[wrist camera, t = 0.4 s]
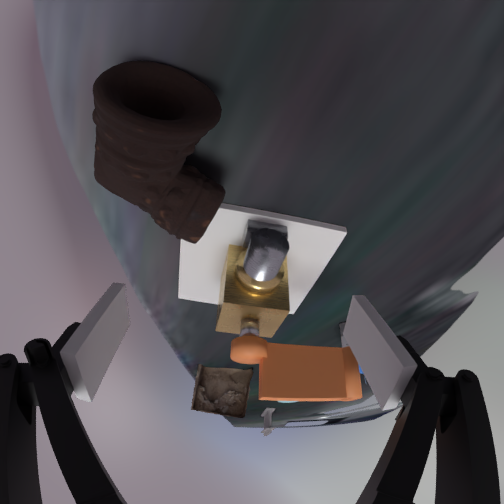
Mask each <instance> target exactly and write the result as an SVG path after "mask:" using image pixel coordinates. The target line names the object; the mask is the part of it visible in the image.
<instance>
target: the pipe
mask: <svg viewBox="0 0 504 504" xmlns="http://www.w3.org/2000/svg"><path fill="white" fill-rule="evenodd" d="M93 95H94V105H95V109H94V111H93V114H92V115H93V121H94V123H95V124H96V144H95V149H96V150H95V160H94V168H95V171H94V176H95V179H96V181H97V182H98V183H99V184H101V185H102V186H103V187H105V188H106V189H107V190H109V191H110V192H112V193H113V194H115V195H117V196H119V197H121V198H123V199H125V200H126V201H128V202H130V203H132V204H134V205H137V206H139V208H140V209H142V210H143V211H145V212H148V213H150V214H151V217H152V218H153V219H154V221H155V223H156V224H158V225H159V226H160V227H161V228H163V229H165V230H167V231H168V233H169V234H173V235H175V236H176V238H177V239H183V240H185V241H187V242H190V243H193V244H196V243H197V242H198V241H199V240H200V239H201V238H202V236H203V235H204V233H205V232H206V230H207V228H208V226H209V224H210V223H211V221H212V220H213V218H214V216H215V215H216V213H217V211H218V209H219V207H220V205H221V203H222V201H223V199H224V196H225V190H224V188H223V186H221V185H220V184H218V183H216V182H215V181H213V180H212V179H208V178H206V176H205V175H204V174H201V173H200V172H199V171H198V169H196V168H195V167H193V166H192V165H183V164H184V162H185V160H186V157H187V156H188V155H190V154H192V153H193V152H194V150H195V145H196V144H197V143H198V142H199V140H200V139H201V137H203V136H204V135H206V134H207V132H208V131H209V130H211V129H212V128H214V127H215V126H216V124H217V123H218V122H219V119H220V117H221V110H222V109H221V106H220V103H219V100H218V98H217V96H216V95H215V94H214V92H213V91H212V90H211V89H210V88H209V87H208V86H206V85H205V84H204V83H202V82H199V81H197V80H195V79H194V78H193V77H192V76H191V75H190V74H188V73H186V72H183V71H181V70H179V69H177V68H174V67H171V66H168V65H164V64H160V63H155V62H149V61H130V62H125V63H121V64H118V65H116V66H113V67H111V68H110V69H108V70H106V71H104V72H103V73H102V74H101V75H100V76H99V77H98V78H97V79H96V81H95V83H94V85H93Z"/></svg>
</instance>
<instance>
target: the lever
mask: <svg viewBox="0 0 504 504" xmlns="http://www.w3.org/2000/svg"><path fill="white" fill-rule="evenodd" d="M231 359H232V360H233V361H235V362H238V363H243V364H258V363H259V400H276V401H338V400H341V401H351V400H356V399H360V398H362V390H361V380H360V372H359V364H358V362H357V360H356V358H355V356H354V354H353V352H352V350H351V348H350V346H347V347H343V348H336V347H317V346H302V345H289V344H277V343H267V341H266V340H264V339H262V338H260V337H255V336H241V337H237V338H235V339H233V340H232V342H231Z"/></svg>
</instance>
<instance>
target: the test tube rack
mask: <svg viewBox="0 0 504 504" xmlns="http://www.w3.org/2000/svg"><path fill="white" fill-rule="evenodd" d="M274 410H275V408H266V409H265V411H264V412H263V413H262V415H261V416H264V430H263V431H262V432H261V433H264V436H267V435H269V434H270V433H271V431H272V430H273V429H274V428H271V415H272V414H271V413H272V412H273V411H274Z"/></svg>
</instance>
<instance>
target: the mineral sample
mask: <svg viewBox="0 0 504 504" xmlns="http://www.w3.org/2000/svg"><path fill="white" fill-rule="evenodd" d="M252 375H253V371H252V367H251V369H249V370H241V369H232V368H210V367H204V366H203V365H201V364H198V372H197V377H196V381H195V388H194V394H193V399H192V409H191V410H196V411H202V412H207V413H214V414H220V415H226V416H232V417H238V418H243V417H245V413H246V408H247V400H248V396H249V391H250V388H249V384H250V380H251V378H252Z"/></svg>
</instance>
